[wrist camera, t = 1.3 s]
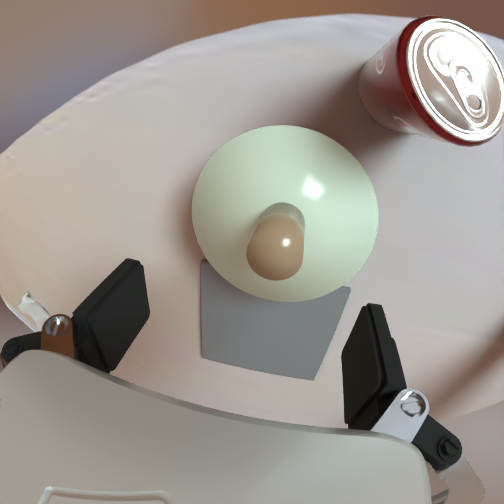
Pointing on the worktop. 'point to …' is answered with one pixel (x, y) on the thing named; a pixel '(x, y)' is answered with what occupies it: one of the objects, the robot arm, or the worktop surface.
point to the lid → (285, 213)
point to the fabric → (33, 310)
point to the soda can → (436, 83)
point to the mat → (266, 328)
